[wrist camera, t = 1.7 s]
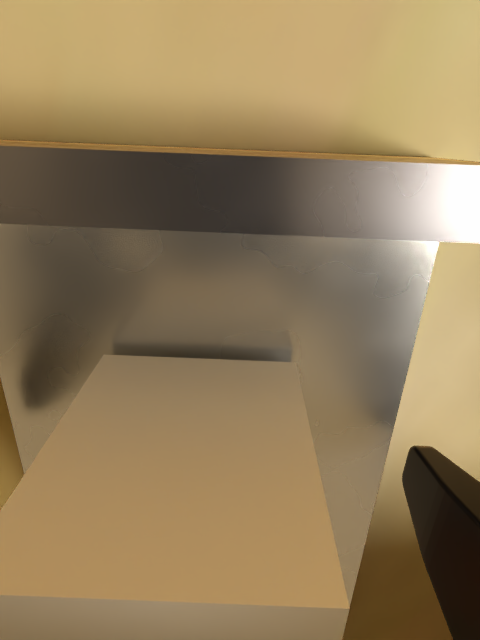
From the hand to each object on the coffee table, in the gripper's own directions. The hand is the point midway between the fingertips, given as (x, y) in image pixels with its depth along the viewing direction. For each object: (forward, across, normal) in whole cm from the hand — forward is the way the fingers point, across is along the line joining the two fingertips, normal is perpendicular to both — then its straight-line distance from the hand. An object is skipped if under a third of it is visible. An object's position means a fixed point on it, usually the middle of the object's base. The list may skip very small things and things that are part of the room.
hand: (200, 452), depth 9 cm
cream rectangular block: (+1, 0, +2) cm, 3 cm away
